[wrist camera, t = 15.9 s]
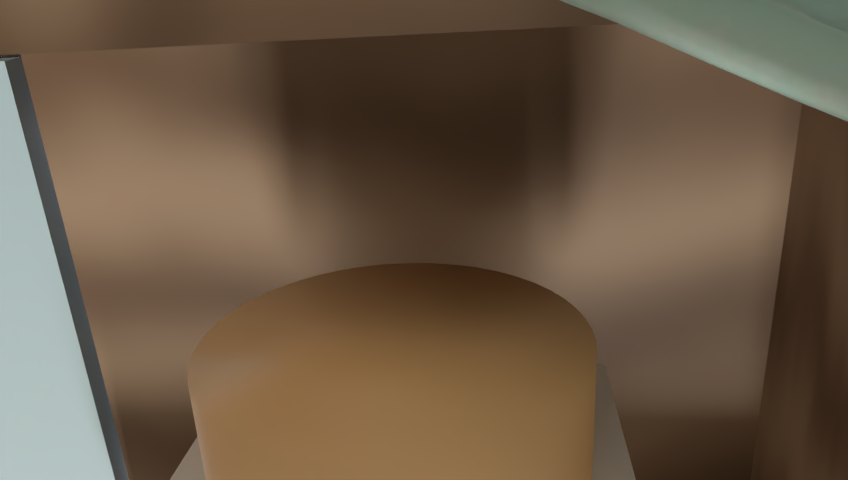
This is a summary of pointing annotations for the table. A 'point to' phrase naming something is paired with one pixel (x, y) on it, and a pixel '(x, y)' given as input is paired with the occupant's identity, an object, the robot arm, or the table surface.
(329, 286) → the peach pillar candle
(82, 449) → the panel
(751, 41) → the planter
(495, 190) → the brown open rectangular box
